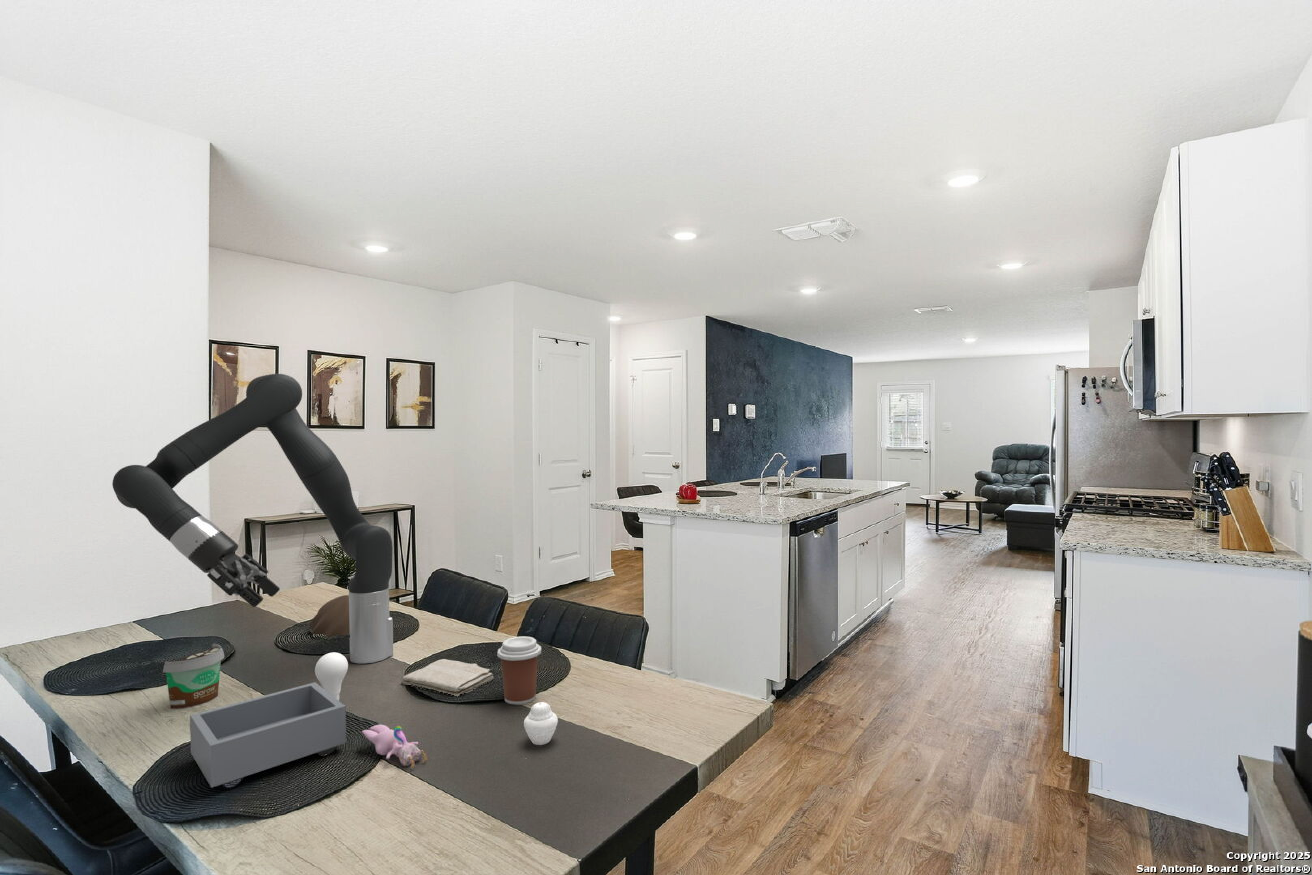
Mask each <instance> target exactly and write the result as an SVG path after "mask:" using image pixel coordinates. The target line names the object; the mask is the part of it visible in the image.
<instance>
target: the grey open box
mask: <svg viewBox="0 0 1312 875" xmlns="http://www.w3.org/2000/svg"><path fill="white" fill-rule="evenodd" d="M346 707H347V706H346V705H345V704H344V703H342V701H340V699H339V700H337V699H336V698H335V697H333V696H332V695H331V694H330V693H328V692H327V691H326V690H325V689H323V687H322V685H319V684H318V683H317V682H315V681H314V682H312V683H311V682H310V683H307V684H304V685H299V686H296V687H292V688H287V689H284V690H280V691H276V692H273V693H269V694H265V695H261V696H258V697H254V698H250V699H246V700H243V701H237V702H235V703H231V704H227V705H223V706H220V707H219V706H218V707H216V708H212V709H208V710H205V711H201V712H197V713H192V714H189V729H190V731H189V732H190V734H189V735H190V754H191V756H192V757H193V759H194V760H195V762H196V764H197V765H198V767H199V769H200V771H201V772H202V774H203V776H204V778H205V779H206V781H207V782H208V784H209V786H210V788H211V789H212V788H214V787H219V786H221V785H222V786H223V785H225V784H227V783H231V782H233V781H236V780H238V779H242V780H243V779H244V778H245V777H247V776H251V775H254V774H256V773H259V772H262V771H265V770H268V769H272V768H274V767H279V766H280V765H283V764H286V763H289V762H292V761H296V760H298V759H299V760H300V759H302V758H304V757H308V756H311V755H313V754H317V755H319V756H321V757H323V756H322V755H325V754H328V753H331V754H333V752H334V750H335V749H336V747H338V746H340V745H343V744H346V743H347V719H346V718H347V716H346V715H347V714H346Z"/></svg>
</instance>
